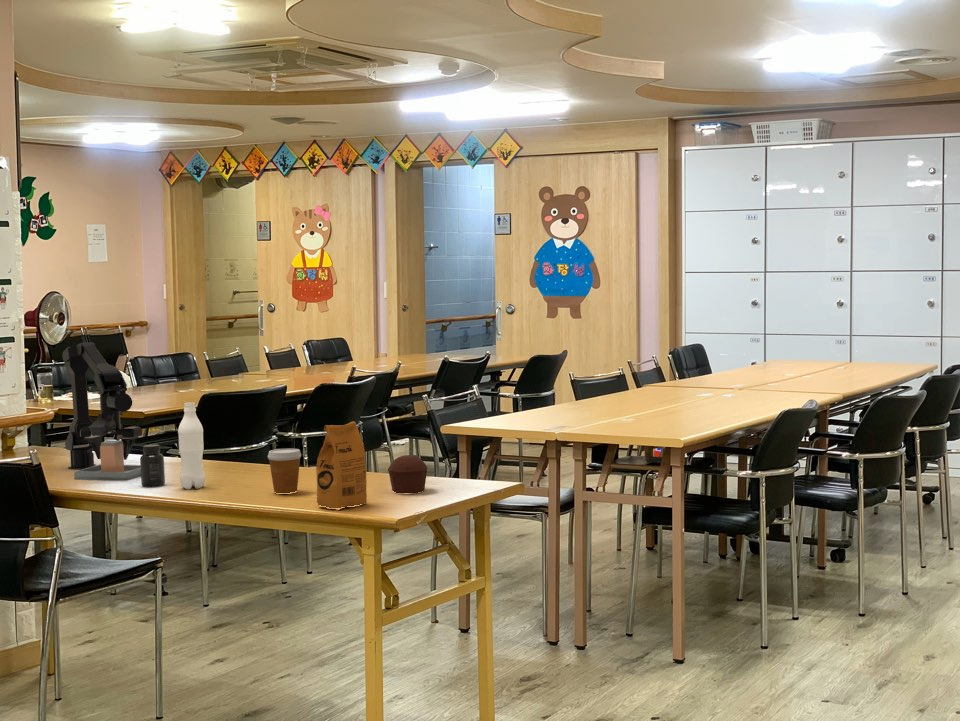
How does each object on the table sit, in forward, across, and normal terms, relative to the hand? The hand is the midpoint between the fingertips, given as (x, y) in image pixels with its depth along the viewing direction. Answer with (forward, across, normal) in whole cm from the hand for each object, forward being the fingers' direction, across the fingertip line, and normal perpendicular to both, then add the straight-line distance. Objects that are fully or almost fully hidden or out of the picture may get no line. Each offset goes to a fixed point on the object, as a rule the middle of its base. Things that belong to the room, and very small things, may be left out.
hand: (112, 459), depth 369 cm
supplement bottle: (+6, +22, -14) cm, 27 cm away
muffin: (+6, +101, -13) cm, 102 cm away
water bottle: (+6, +36, -16) cm, 40 cm away
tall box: (+4, 0, 0) cm, 5 cm away
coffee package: (+6, +90, -36) cm, 97 cm away
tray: (+5, 0, 0) cm, 5 cm away
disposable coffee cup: (+6, +67, -20) cm, 70 cm away
